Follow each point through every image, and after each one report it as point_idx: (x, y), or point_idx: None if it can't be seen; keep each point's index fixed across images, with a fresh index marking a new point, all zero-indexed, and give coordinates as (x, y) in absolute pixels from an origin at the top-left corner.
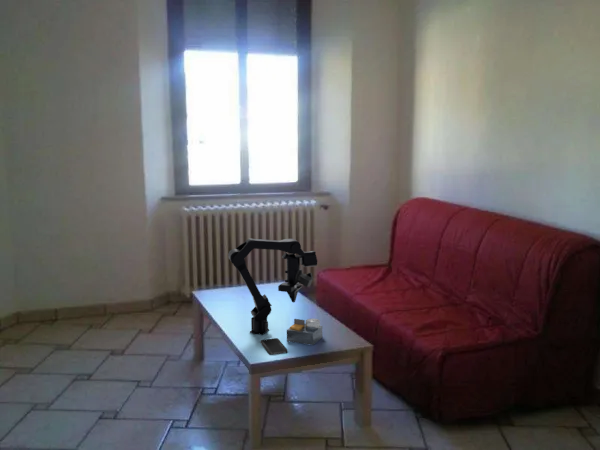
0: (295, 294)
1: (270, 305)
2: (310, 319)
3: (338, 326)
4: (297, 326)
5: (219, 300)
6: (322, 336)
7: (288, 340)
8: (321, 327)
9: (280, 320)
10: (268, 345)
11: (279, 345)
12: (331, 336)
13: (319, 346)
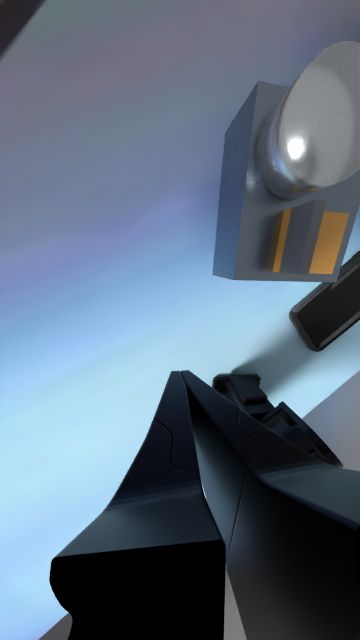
0: (228, 424)
1: (321, 458)
2: (311, 151)
3: (21, 71)
4: (322, 238)
5: (29, 606)
6: (227, 129)
7: None
8: (271, 88)
9: (101, 394)
10: (349, 312)
11: (348, 279)
12: (200, 77)
13: None
